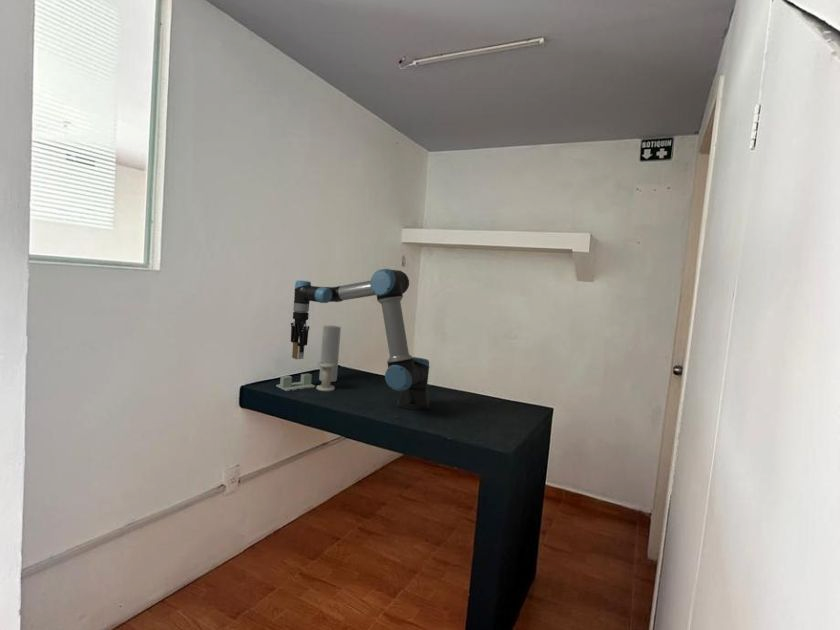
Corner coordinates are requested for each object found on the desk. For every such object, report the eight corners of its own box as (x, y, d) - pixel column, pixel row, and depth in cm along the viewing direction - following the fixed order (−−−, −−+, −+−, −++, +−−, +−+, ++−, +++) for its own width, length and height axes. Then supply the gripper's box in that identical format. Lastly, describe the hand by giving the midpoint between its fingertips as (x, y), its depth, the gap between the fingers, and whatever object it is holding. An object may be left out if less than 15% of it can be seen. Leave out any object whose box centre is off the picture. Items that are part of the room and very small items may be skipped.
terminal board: (314, 387, 228) (315, 376, 228) (286, 391, 217) (287, 379, 216) (304, 382, 235) (304, 371, 235) (276, 386, 223) (277, 374, 223)
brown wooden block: (296, 359, 222) (297, 343, 221) (292, 357, 225) (293, 342, 224) (303, 358, 225) (304, 343, 224) (299, 357, 227) (300, 341, 227)
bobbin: (338, 389, 227) (340, 364, 226) (323, 392, 221) (325, 366, 220) (327, 385, 233) (329, 361, 232) (312, 387, 227) (314, 362, 226)
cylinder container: (316, 380, 243) (320, 325, 240) (324, 376, 252) (328, 324, 249) (331, 382, 240) (335, 327, 238) (339, 379, 249) (343, 326, 247)
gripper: (317, 313, 220) (313, 360, 222) (298, 309, 231) (295, 354, 233) (303, 313, 214) (300, 361, 216) (285, 309, 226) (282, 355, 228)
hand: (297, 357), depth 225 cm, fingers closed on brown wooden block, 4 cm apart
